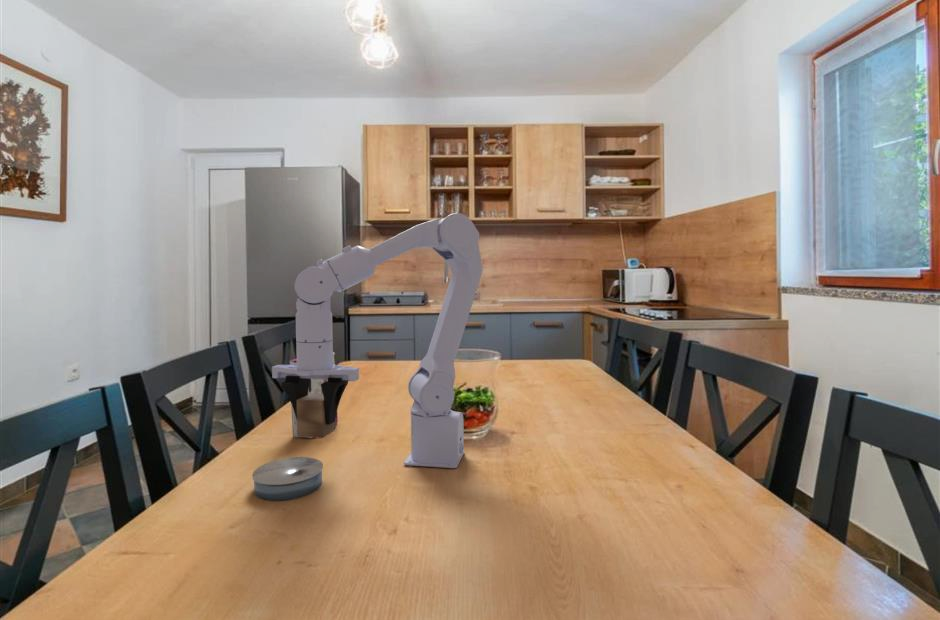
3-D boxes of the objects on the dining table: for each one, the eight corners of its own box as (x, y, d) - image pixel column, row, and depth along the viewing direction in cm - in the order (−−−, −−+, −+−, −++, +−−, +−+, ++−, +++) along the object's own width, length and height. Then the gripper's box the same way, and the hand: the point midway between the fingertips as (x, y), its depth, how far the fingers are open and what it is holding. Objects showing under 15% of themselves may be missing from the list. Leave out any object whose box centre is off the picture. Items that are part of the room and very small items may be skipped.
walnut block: (335, 429, 80) (335, 394, 80) (322, 437, 76) (322, 401, 75) (311, 427, 81) (310, 393, 80) (297, 436, 76) (296, 399, 76)
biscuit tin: (334, 476, 79) (334, 458, 78) (302, 505, 68) (302, 485, 68) (277, 472, 80) (276, 455, 80) (238, 500, 70) (237, 481, 70)
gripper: (259, 342, 74) (262, 426, 75) (345, 345, 72) (346, 431, 73) (284, 337, 81) (286, 414, 82) (363, 339, 79) (364, 418, 80)
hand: (316, 421), depth 78 cm, fingers closed on walnut block, 4 cm apart
